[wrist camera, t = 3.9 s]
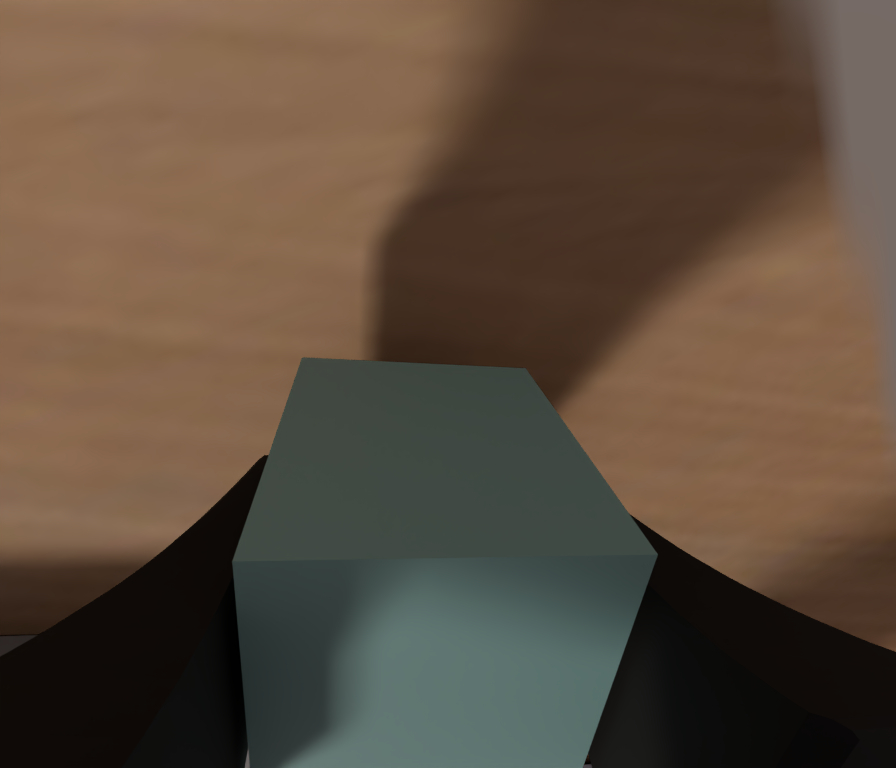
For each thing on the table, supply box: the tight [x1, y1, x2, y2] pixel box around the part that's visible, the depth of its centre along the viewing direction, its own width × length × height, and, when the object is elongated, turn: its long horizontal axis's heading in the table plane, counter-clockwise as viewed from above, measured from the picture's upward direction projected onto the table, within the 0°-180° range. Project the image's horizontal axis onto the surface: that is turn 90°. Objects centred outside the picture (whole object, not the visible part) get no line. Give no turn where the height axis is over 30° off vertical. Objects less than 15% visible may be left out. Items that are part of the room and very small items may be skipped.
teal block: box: [232, 358, 658, 768], centre depth 10 cm, size 5×5×6 cm
